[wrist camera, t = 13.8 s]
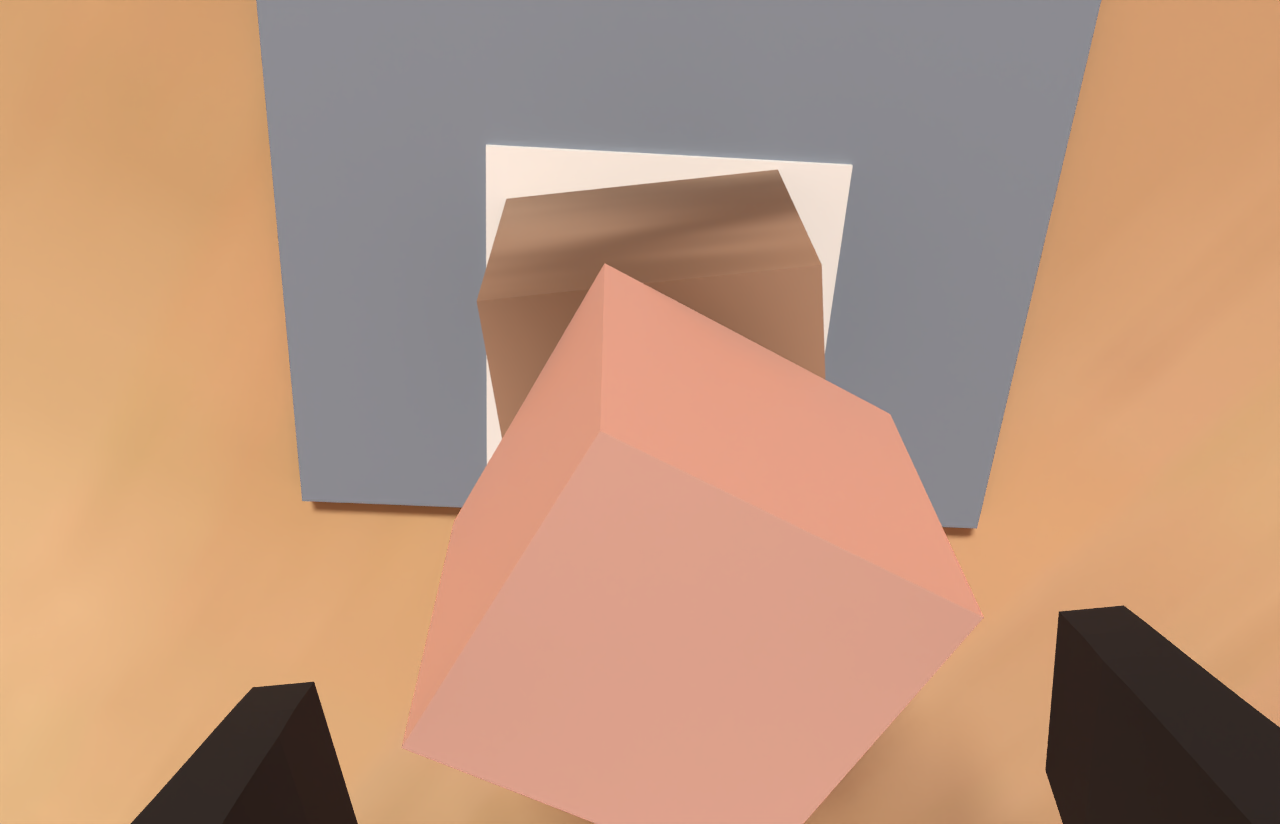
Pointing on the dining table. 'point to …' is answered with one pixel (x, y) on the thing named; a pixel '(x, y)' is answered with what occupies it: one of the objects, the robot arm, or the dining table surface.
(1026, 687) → the dining table surface
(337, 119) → the board
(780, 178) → the walnut block
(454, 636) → the terracotta block
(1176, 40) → the dining table surface
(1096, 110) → the dining table surface
